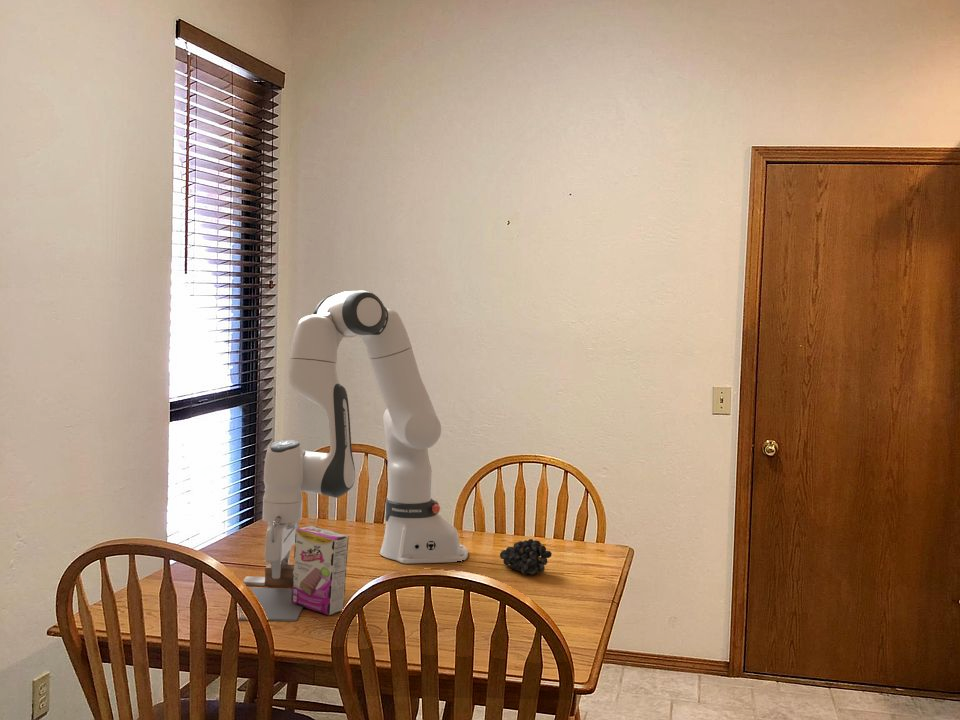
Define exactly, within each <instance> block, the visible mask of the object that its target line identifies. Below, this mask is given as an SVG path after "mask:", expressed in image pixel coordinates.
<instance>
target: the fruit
mask: <svg viewBox="0 0 960 720" xmlns="http://www.w3.org/2000/svg"><path fill="white" fill-rule="evenodd" d="M551 557H552V552H551V551H550V550H547V548H546V545H543V544H542V543H541V542H540V541H539V540H537V539H532V538H530V539H528V540H527V539H525V540H524V541H522V540H519V541H515V543H513V546H507V547H506V549H502V550H501V551H500V553H499V558H500V559H501V560H503V561H502V562H503V564H504V565H505V566H510V569H511V570H517V571H518V572H521V574H523V575H528V574H529V575H531V576H534V575H536V574H537V572H538V573H540V574H542V573H544V572H545V571H546V570H545V568H546V567H545V566H546V565H547V564H548V559H549V558H551Z"/></svg>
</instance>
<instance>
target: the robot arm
mask: <svg viewBox="0 0 960 720" xmlns="http://www.w3.org/2000/svg"><path fill="white" fill-rule="evenodd" d="M293 334H294V335H293V337H292V342H291V346H290V347H291V348H290V355H289V361H288V381H289V383H290V386H291V387H292V389H293V390H294V391H295V392H296V393H297V394H298V395H299V396H301V397H302V398H303V399H306V400H308V401H310V402H311V403H312V404H315V405H316V406H319V407H320V408H321V409H322V410H323V412H325V415H326V417H327V419H328V427H329V428H328V429H329V432H328V433H329V446H330V447H329V449H330V450H329V452H328V453H327V452H319V451H318V452H317V451H311V450H306V449H303V447H302V444H301V443H300V441H298V440H294V439H282V440H275V441H274V442H272V443H270V444H268V447H267V450H266V452H265V453H266V454H265V459H264V466H263V467H264V468H263V484H264V493H263V497H262V521H264V522H265V523H267V530H266V533H265V542H264V543H265V544H264V545H265V546H264V561H265V563H268V564H271V569H272V578H273V579H279V578H280V576H281V564H282V565H290V556H291V551H292V547H293V546H294V545H295V535H296V529H297V528H300V527H299V526H300V522H301V521H302V519H303V494H302V493H303V492H304V493H309V494H319V495H323V496H326V497H331V498H336V499H338V498H340V497H342V496H344V495H346V494H347V493H348V492H349V491H350V490H351V489H352V488H353V487H354V484H355V479H356V469H355V463H354V457H353V451H352V450H353V449H352V435H351V434H352V432H351V419H350V418H351V417H350V405H349V398H348V393H347V390H346V387H344V386H343V385H341V383H340V381H339V378H338V375H337V374H338V373H337V361H338V349H339V346H340V344H341V342H342V340H343V339H344V338H353V337H354V338H355V337H357V336H358V337H360V338H361V340H362V342H363V343H364V345H365V347H366V352H367V356H368V359H369V362H370V363H369V364H370V367H371V370H372V373H373V376H374V379H375V382H376V386H377V389H378V391H379V392H380V396H381V397H382V400H383V401H384V404H385V406H386V409H385V410H384V412H383V415H382V416H383V417H382V421H383V427H384V439H385V451H386V458H387V472H388V473H387V498H386V500H385V506H384V507H385V508H384V518H385V521H386V522H385V530H384V536H383V541H382V544H381V547H380V548H381V549H380V551H379V554H380V555H381V556H383V557H384V558H386V559H390V560H394V561H397V562H398V563H400V564H401V563H402V564H433V563H437V564H438V563H458V562H457V561H461V562H463V561H462V560H464V561H465V560H467V558H468V557H469V556H468V555H469V552H468V551H469V550H468V548H467V547H466V546H464V544H463V545H462V544H461V542H460V537H459V533H458V530H457V528H456V527H455V526H454V525H452V523H450V522H449V521H447V520H446V519H445V518H444V517H442V516H441V515H440V514H439V512H440V511H441V507H440V505H439V501H437V500H434V499H433V498H432V475H433V474H432V472H433V471H432V464H431V461H430V457H429V448H432V447H433V446H435V444H436V443H437V442H439V439H440V437H441V434H442V425H441V422H440V420H439V418H438V416H437V414H436V413H437V412H435V409H434V405H433V403H432V401H431V399H430V396H429V394H428V391H427V389H426V387H425V384H424V382H423V379H422V377H421V374H420V372H419V368H418V364H417V361H416V357H415V354H414V350H413V346H412V344H411V341H410V338H409V334H408V332H407V329H406V327H405V325H404V323H403V321H402V318H401V317H400V315H399V313H398V312H396V311H395V310H394V309H391V308H386V306H385V304H384V303H383V301H382V300H381V298H379V296H377V295H376V294H375V293H373V292H370V291H369V290H367V291H366V290H362V289H361V290H351V291H350V290H349V291H342V292H340V293H337V294H330V295H329V296H327V297H324V298H323V299H322V300H321V301H319V303H317V305H316V307H315V309H314V311H313V313H312V314H310V315H306V316H304V317H302V318H301V319H300V320H298V322H297V325H296V327H295V330H294V333H293Z"/></svg>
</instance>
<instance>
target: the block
mask: <svg viewBox="0 0 960 720" xmlns="http://www.w3.org/2000/svg"><path fill="white" fill-rule="evenodd" d="M293 567H294V564H289V565H282V564H281V576H280V578H279V579H273V578H272V569H271V563H268V564H266V566H265V568H264V576H247V575H246V576H245V577H244V579H243V580H242V582H243V581H244V583H245V584H246V585H247V586H249V587H250V586H251V587H253V586H254V587H257V586H258V587H265V586H289V587H290V586H291V587H292V582H293ZM247 586H246V587H247Z"/></svg>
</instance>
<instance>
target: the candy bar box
mask: <svg viewBox="0 0 960 720" xmlns="http://www.w3.org/2000/svg"><path fill="white" fill-rule="evenodd" d="M348 549H349V536H348V535H346V534H343V533H340V532H336V531H332V530H329V529H326V528H322V527H318V526H314V525H306V526H302V527H301V526H300V527H299V528H297V529H296V535H295V543H294V555H293V565H294V567H293V582H292V586H291V589H292V597H291V603H294V604H297V605H300V606H303V608H305V609H309V610H312V611H315V612H318V613H321V614H324V615H326V616H333V615H335V614H338V613H340V612H343V611H342V609H343V607H344V608H345V595H346V593H345V592H346V581H347V579H346V578H347V564H348V552H349V551H348Z"/></svg>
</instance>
